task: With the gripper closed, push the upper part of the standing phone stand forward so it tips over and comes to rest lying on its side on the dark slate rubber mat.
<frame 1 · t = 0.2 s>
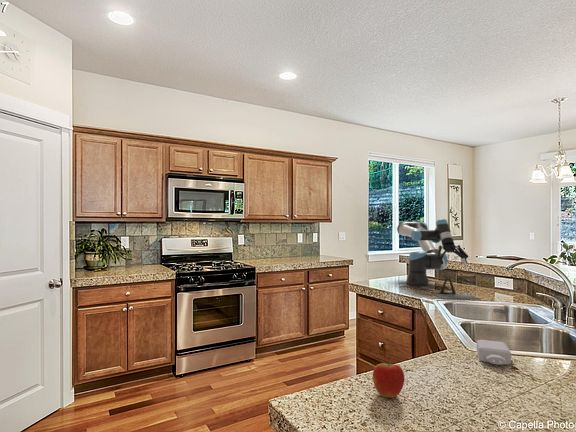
hand: (455, 268, 238), 15 cm above the countertop, tool tilted 35°, fingers open, 13 cm apart
charger: (494, 362, 122), on the countertop
apple: (388, 396, 98), on the countertop
phone stand: (448, 293, 233), on the countertop, touching mat
mat: (456, 296, 223), on the countertop
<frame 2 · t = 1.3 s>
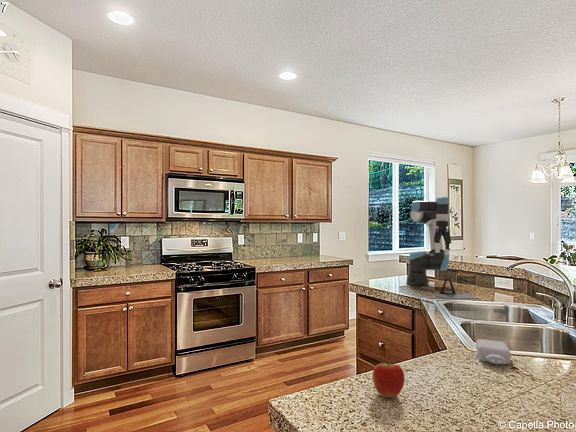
hand: (442, 253, 242), 24 cm above the countertop, tool pointing down, fingers open, 12 cm apart
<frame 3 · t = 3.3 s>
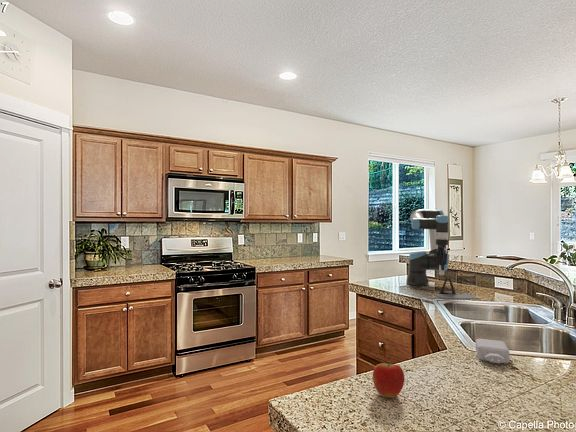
hand: (441, 274, 242), 10 cm above the countertop, tool pointing down, fingers closed
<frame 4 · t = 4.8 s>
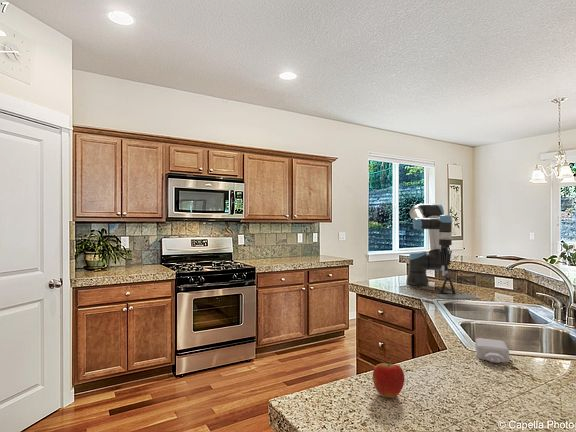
hand: (445, 275, 237), 11 cm above the countertop, tool pointing down, fingers closed
phone stand: (448, 293, 233), on the countertop, touching gripper, mat
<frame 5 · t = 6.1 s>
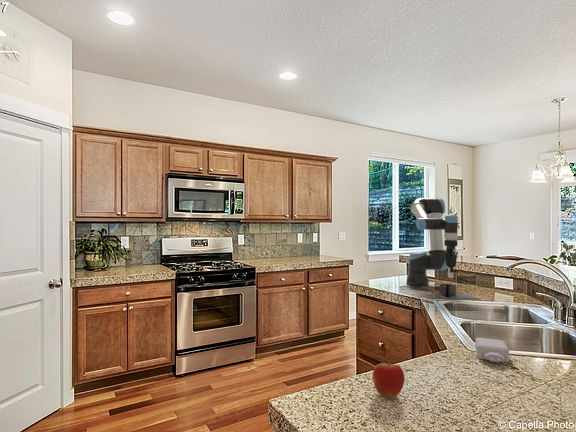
hand: (450, 277, 230), 11 cm above the countertop, tool pointing down, fingers closed
phone stand: (447, 288, 230), point 3 cm above the countertop, touching mat
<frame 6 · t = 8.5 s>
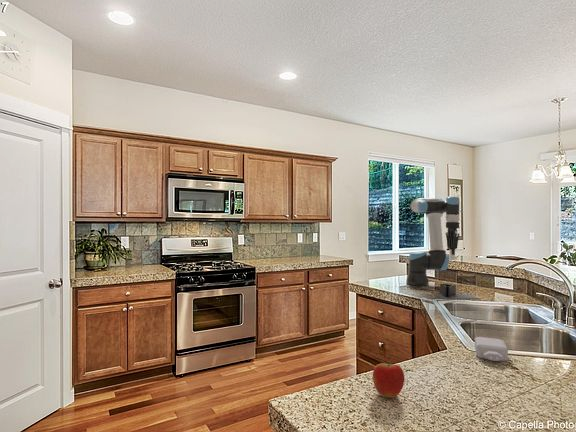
hand: (452, 259, 228), 22 cm above the countertop, tool pointing down, fingers closed
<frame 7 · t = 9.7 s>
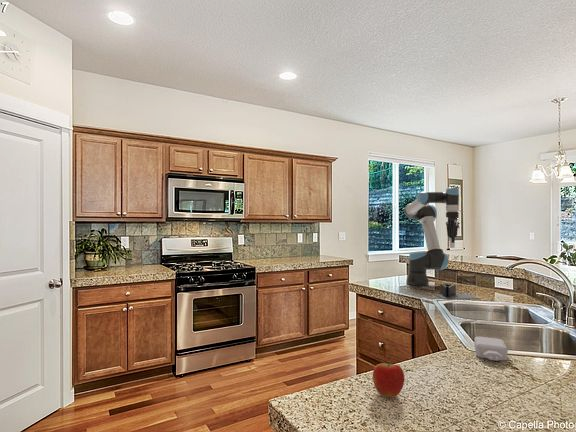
hand: (452, 247, 240), 28 cm above the countertop, tool pointing down, fingers closed
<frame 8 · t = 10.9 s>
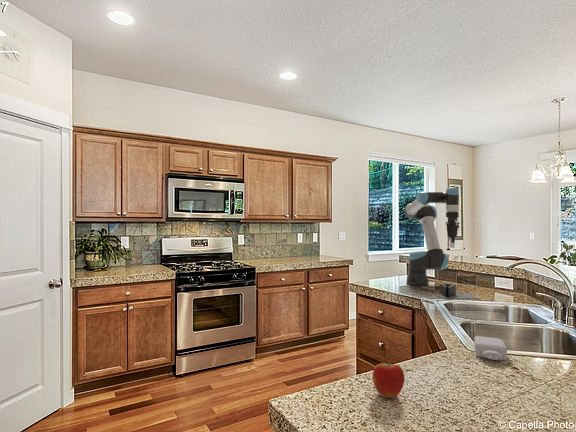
hand: (452, 247, 240), 28 cm above the countertop, tool pointing down, fingers closed
at the end: phone stand tilted 90°; phone stand touching mat; the gripper is holding nothing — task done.
